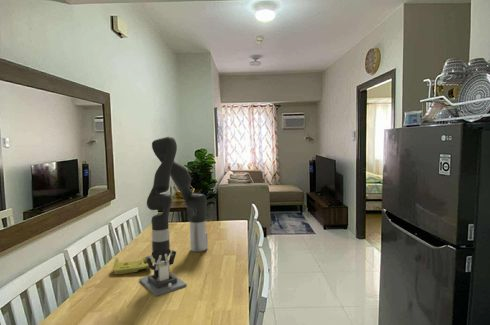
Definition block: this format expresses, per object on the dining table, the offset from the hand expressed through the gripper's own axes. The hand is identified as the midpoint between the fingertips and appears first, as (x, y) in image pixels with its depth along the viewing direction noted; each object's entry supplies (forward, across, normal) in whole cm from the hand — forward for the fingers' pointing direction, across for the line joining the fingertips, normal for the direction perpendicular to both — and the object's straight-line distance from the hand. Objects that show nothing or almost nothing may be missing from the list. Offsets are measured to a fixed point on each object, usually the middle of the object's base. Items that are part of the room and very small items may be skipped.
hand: (161, 275), depth 135 cm
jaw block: (+1, 0, 0) cm, 1 cm away
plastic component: (+4, +4, -24) cm, 24 cm away
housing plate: (+4, 0, 0) cm, 4 cm away
